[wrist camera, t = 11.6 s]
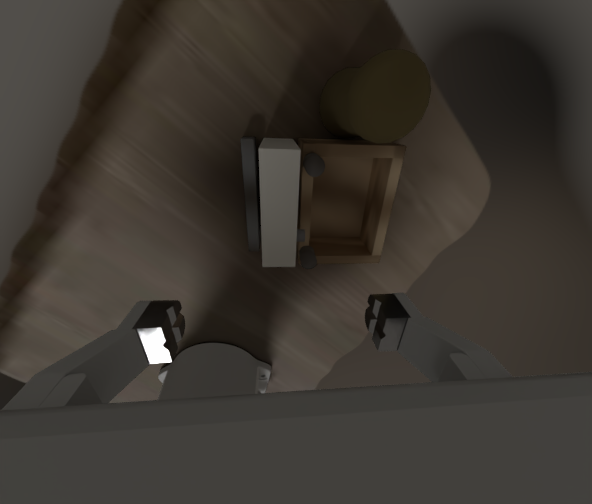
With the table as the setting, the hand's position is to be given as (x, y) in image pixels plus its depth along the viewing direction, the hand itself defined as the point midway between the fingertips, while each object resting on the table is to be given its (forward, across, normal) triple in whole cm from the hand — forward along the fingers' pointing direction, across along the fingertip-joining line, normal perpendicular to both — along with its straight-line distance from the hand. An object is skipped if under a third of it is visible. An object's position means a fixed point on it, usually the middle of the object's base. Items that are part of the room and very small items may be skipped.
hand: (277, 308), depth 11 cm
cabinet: (+20, +4, 0) cm, 20 cm away
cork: (+20, +8, +9) cm, 23 cm away
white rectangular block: (+20, 0, +1) cm, 20 cm away
